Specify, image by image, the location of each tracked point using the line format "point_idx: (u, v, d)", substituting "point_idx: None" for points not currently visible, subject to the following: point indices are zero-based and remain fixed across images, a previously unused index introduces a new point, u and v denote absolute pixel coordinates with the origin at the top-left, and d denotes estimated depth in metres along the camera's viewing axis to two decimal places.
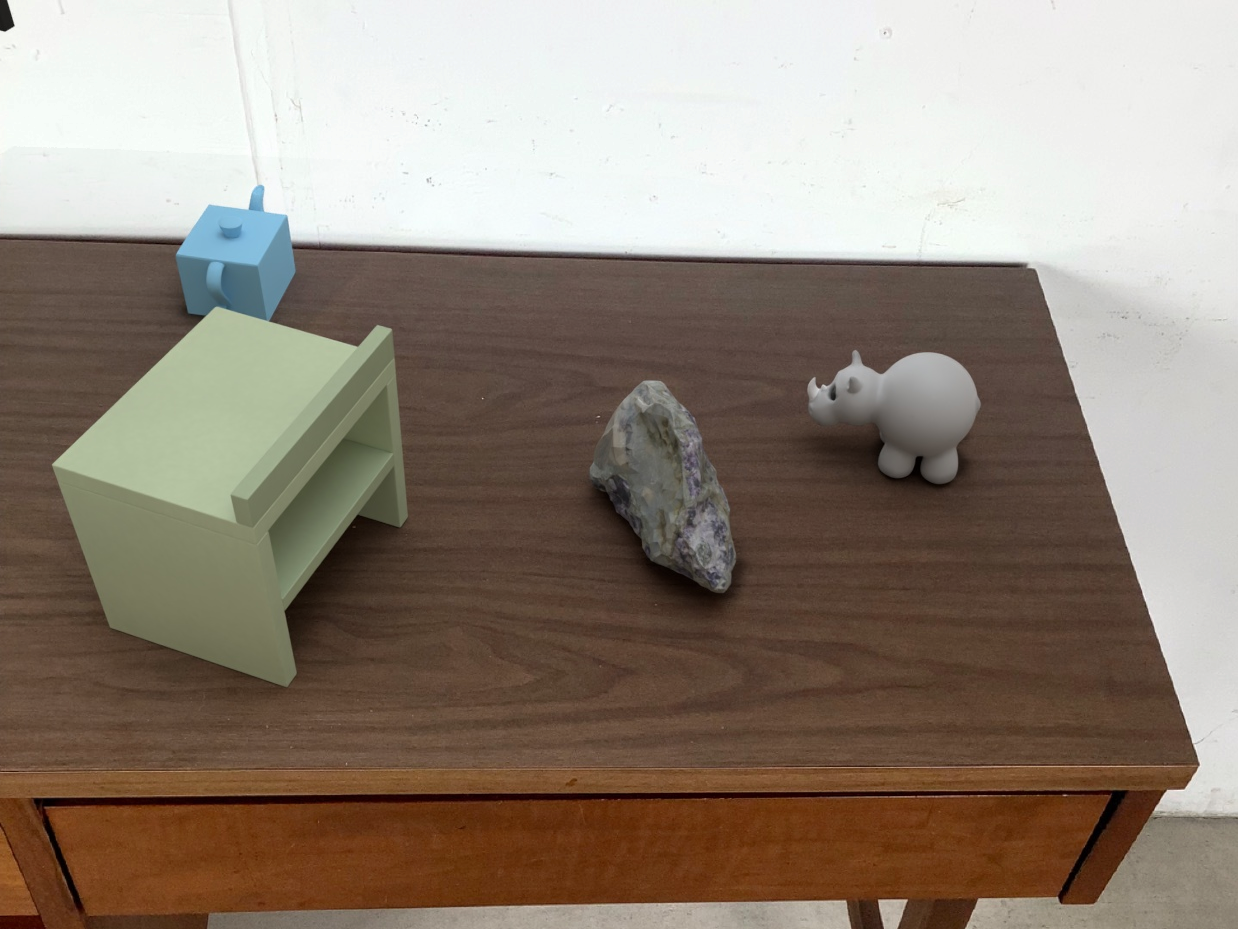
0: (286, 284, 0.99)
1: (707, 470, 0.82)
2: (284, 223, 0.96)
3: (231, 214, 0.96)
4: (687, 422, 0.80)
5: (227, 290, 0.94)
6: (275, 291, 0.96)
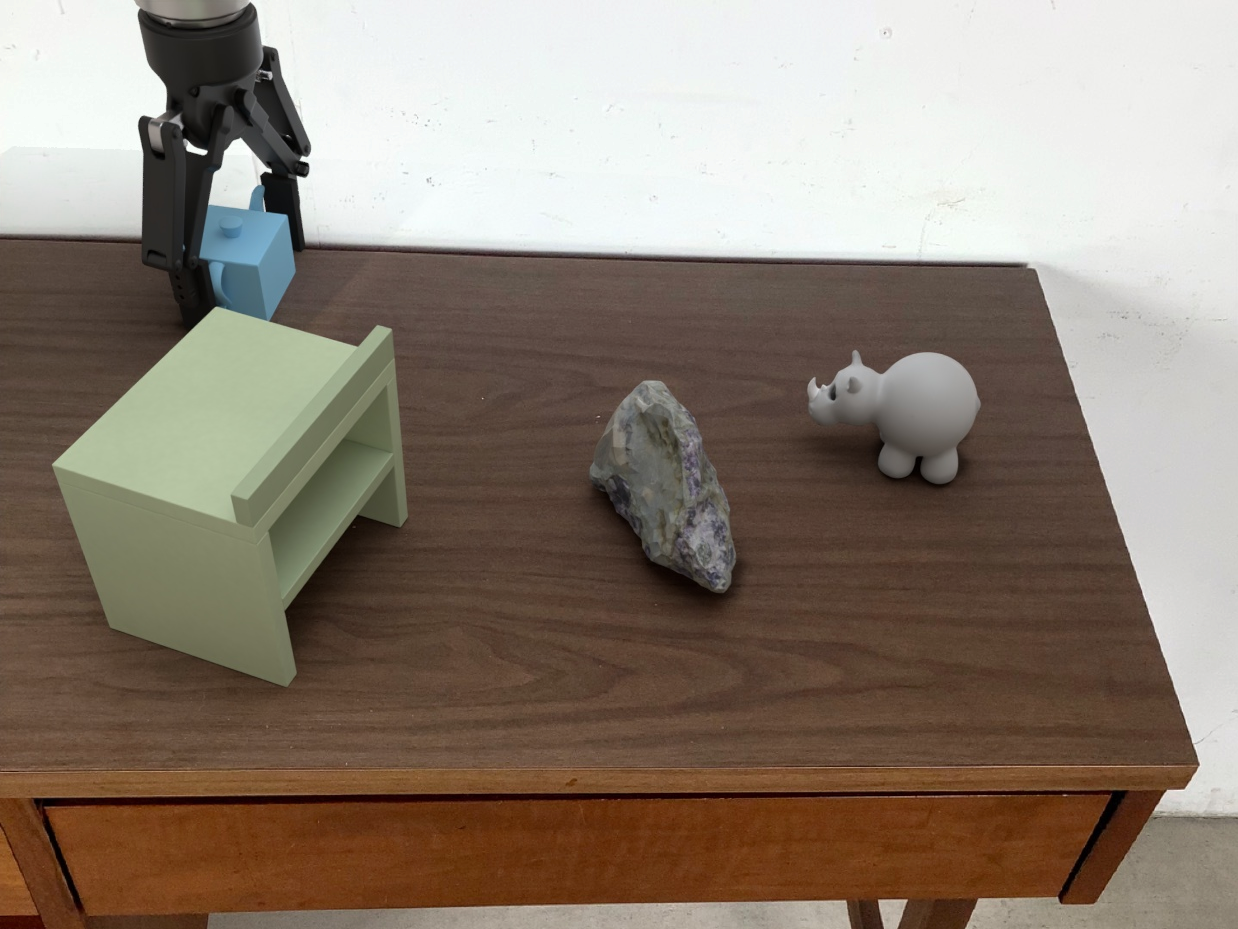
0: (286, 284, 0.99)
1: (707, 470, 0.82)
2: (284, 223, 0.96)
3: (231, 214, 0.96)
4: (687, 422, 0.80)
5: (227, 290, 0.94)
6: (275, 291, 0.96)
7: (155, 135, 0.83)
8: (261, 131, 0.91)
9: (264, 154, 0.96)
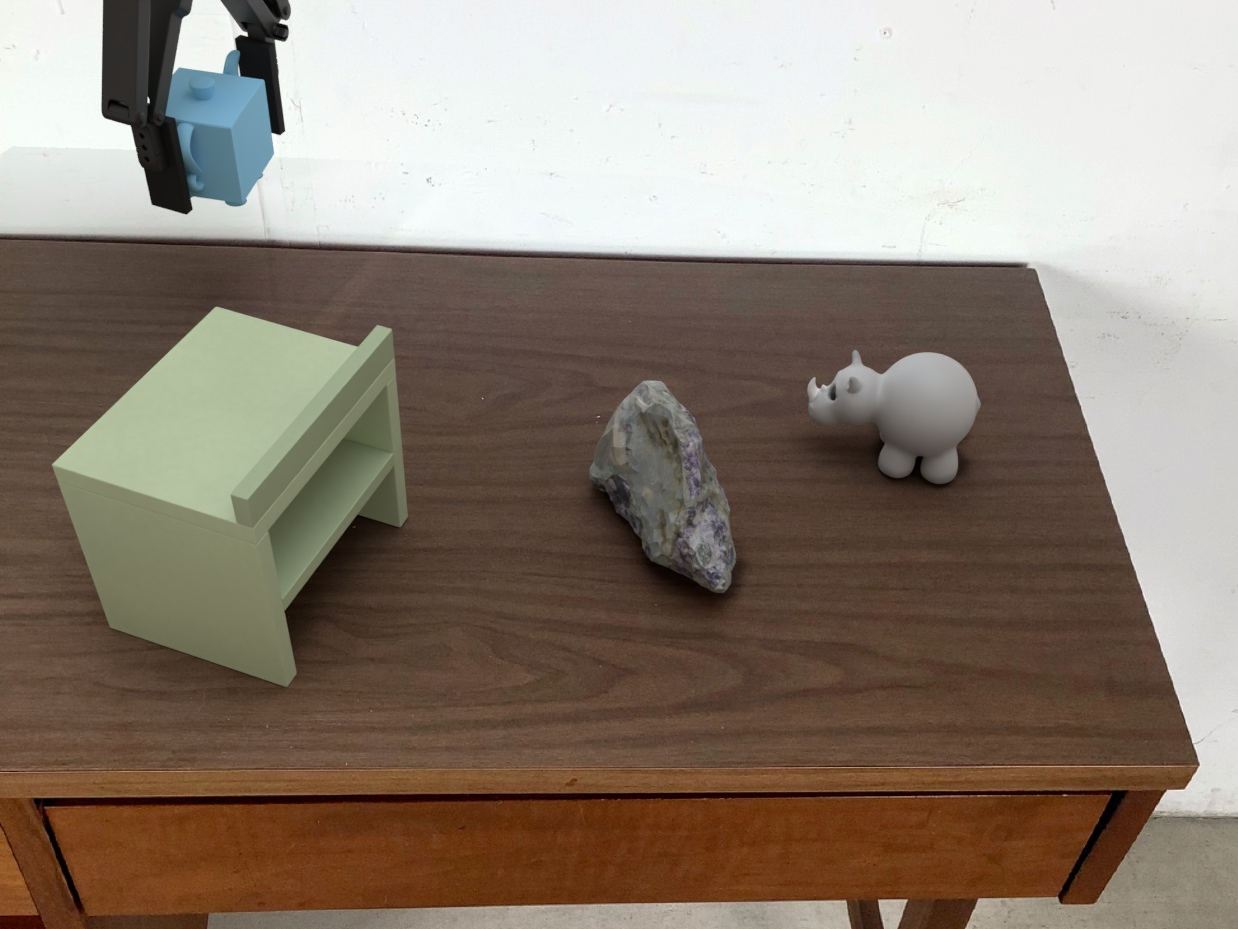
0: (263, 158, 0.91)
1: (707, 470, 0.82)
2: (261, 88, 0.89)
3: None
4: (687, 422, 0.80)
5: (197, 156, 0.86)
6: (250, 162, 0.89)
7: None
8: None
9: (239, 12, 0.88)
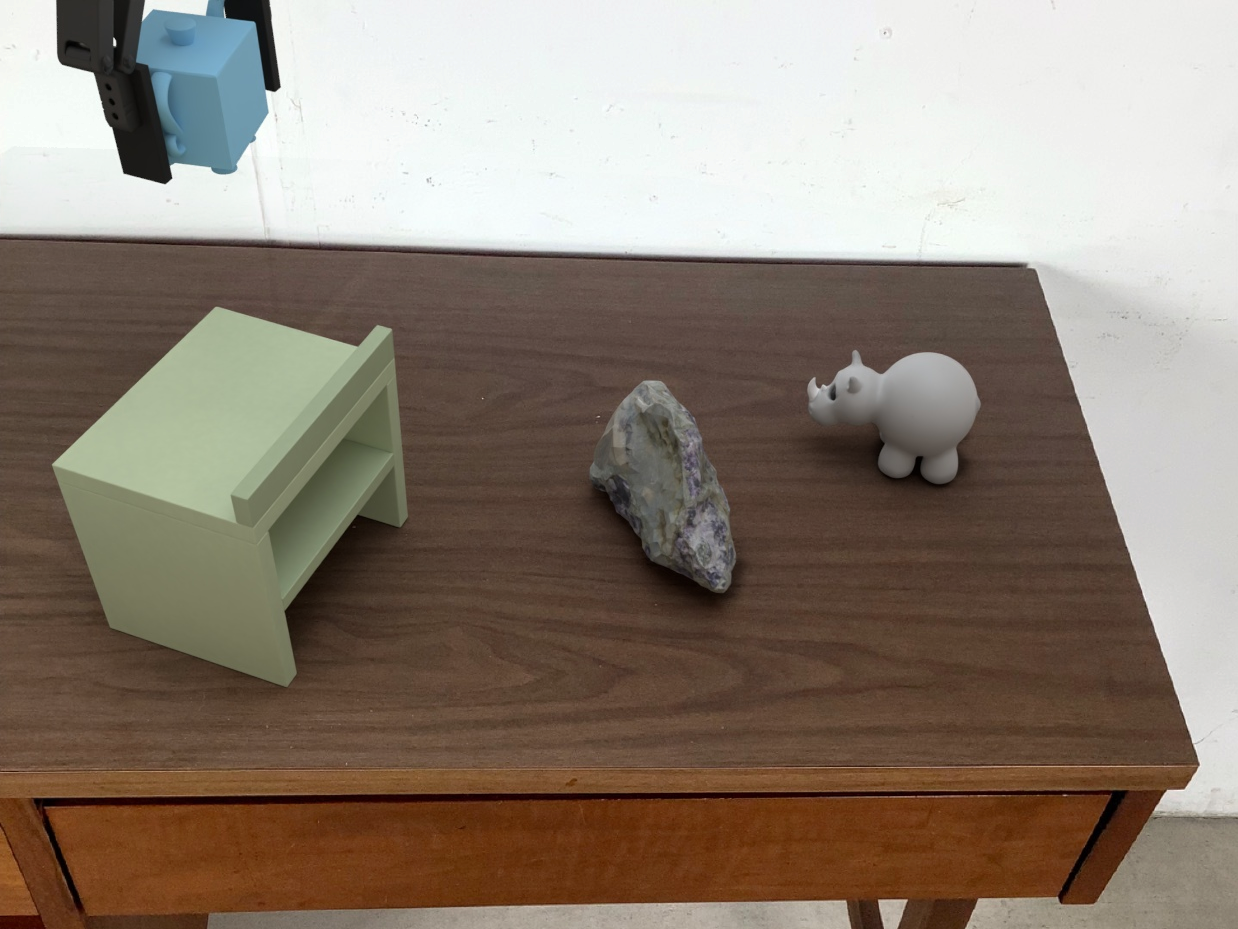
0: (255, 116, 0.76)
1: (707, 470, 0.82)
2: (252, 31, 0.74)
3: None
4: (687, 422, 0.80)
5: (176, 113, 0.71)
6: (240, 120, 0.74)
7: None
8: None
9: None
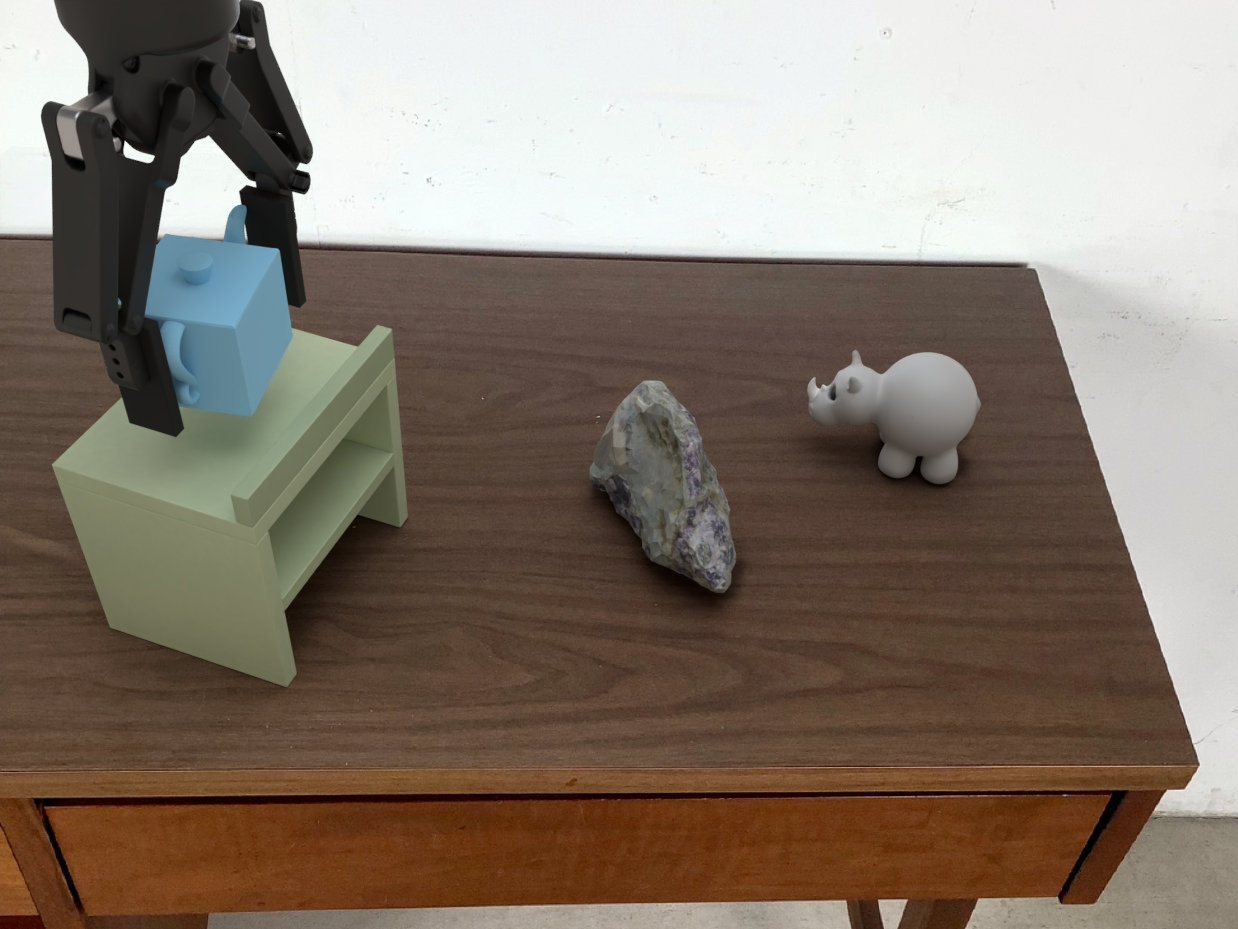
0: (278, 348, 0.68)
1: (707, 470, 0.82)
2: (275, 261, 0.66)
3: (197, 248, 0.66)
4: (687, 422, 0.80)
5: (190, 361, 0.64)
6: (261, 360, 0.66)
7: (68, 132, 0.53)
8: (239, 127, 0.61)
9: (244, 160, 0.66)
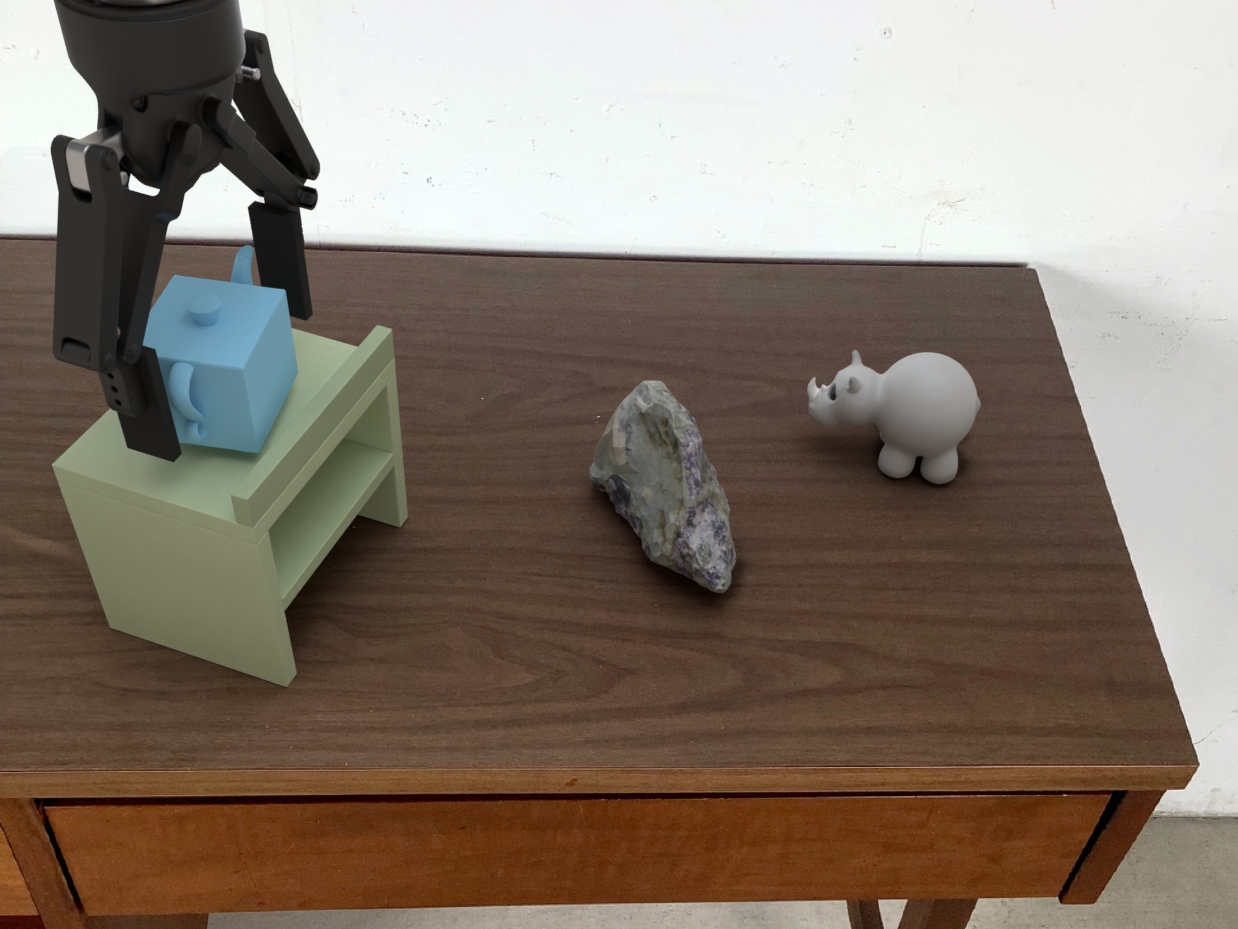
0: (284, 385, 0.70)
1: (707, 470, 0.82)
2: (281, 301, 0.68)
3: (206, 289, 0.68)
4: (687, 422, 0.80)
5: (198, 400, 0.65)
6: (268, 398, 0.68)
7: (77, 164, 0.54)
8: (246, 155, 0.63)
9: (253, 181, 0.67)
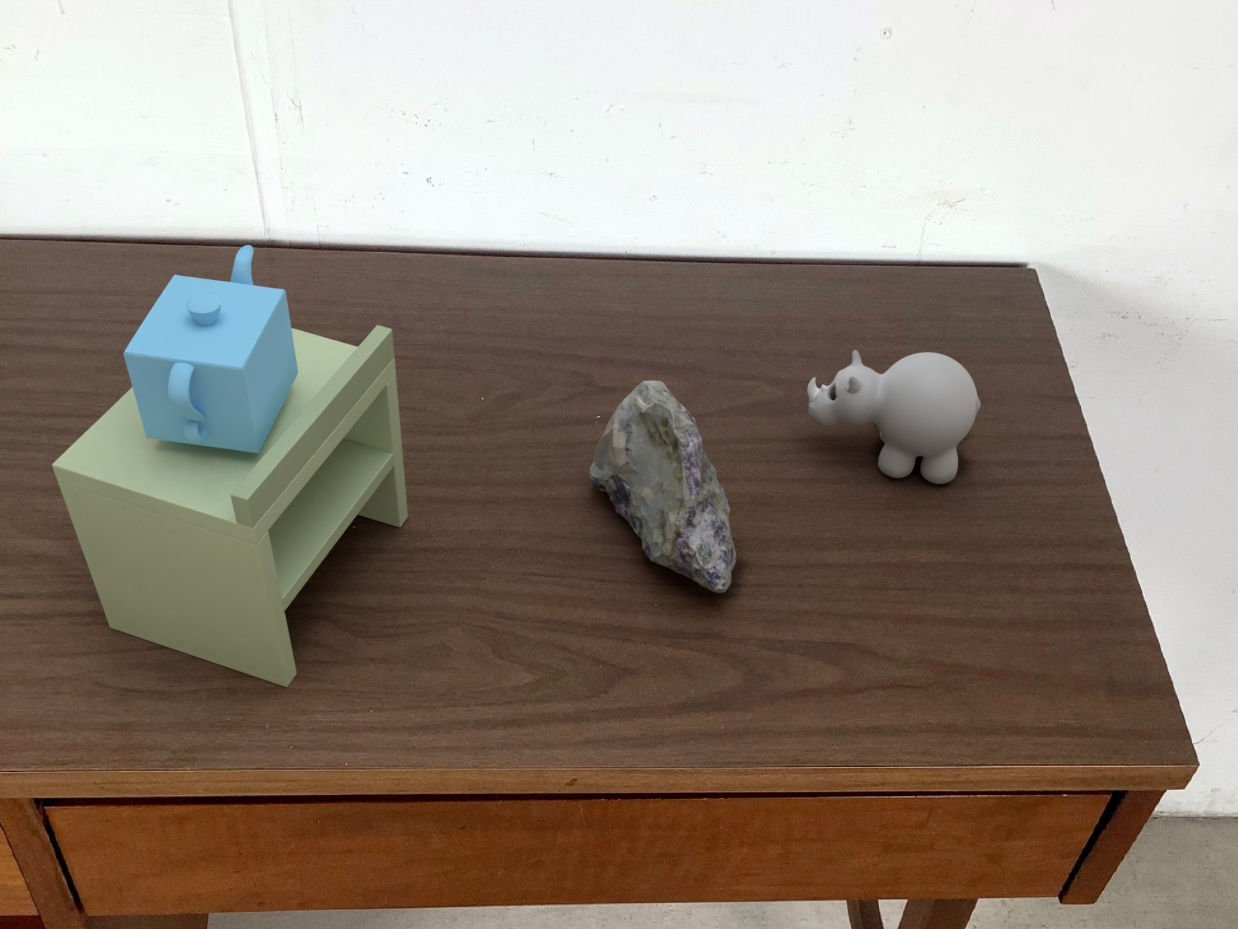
0: (284, 385, 0.70)
1: (707, 470, 0.82)
2: (281, 301, 0.68)
3: (206, 289, 0.68)
4: (687, 422, 0.80)
5: (198, 400, 0.65)
6: (268, 398, 0.68)
7: None
8: None
9: None
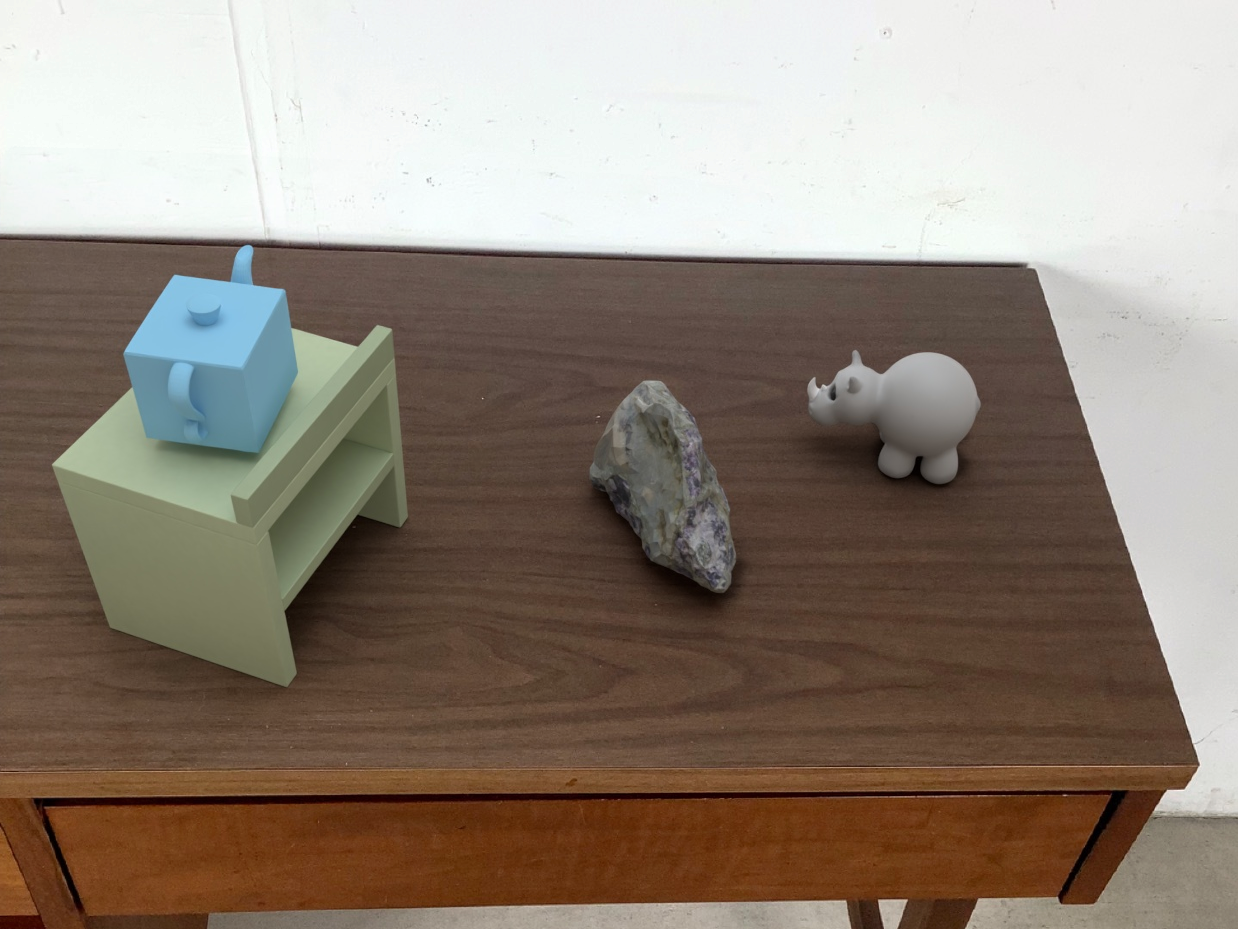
0: (284, 385, 0.70)
1: (707, 470, 0.82)
2: (281, 301, 0.68)
3: (205, 289, 0.68)
4: (687, 422, 0.80)
5: (198, 400, 0.65)
6: (268, 398, 0.68)
7: None
8: None
9: None
